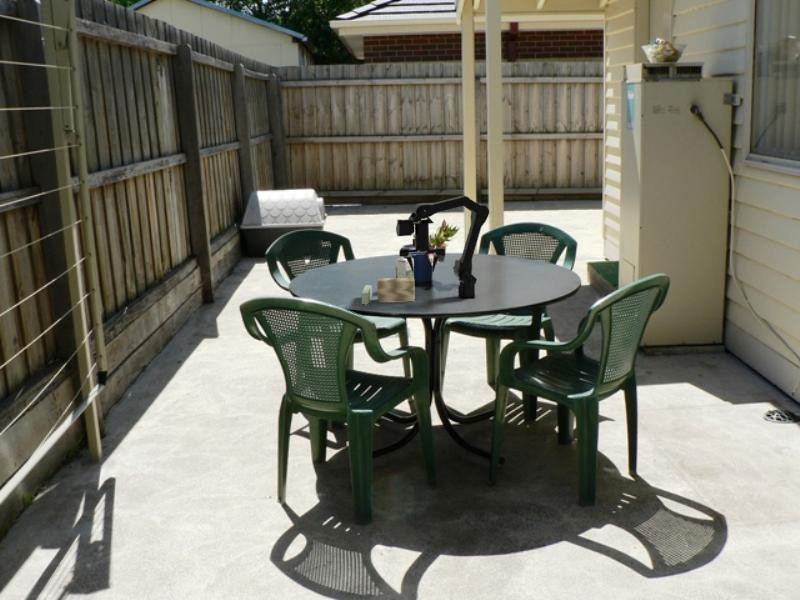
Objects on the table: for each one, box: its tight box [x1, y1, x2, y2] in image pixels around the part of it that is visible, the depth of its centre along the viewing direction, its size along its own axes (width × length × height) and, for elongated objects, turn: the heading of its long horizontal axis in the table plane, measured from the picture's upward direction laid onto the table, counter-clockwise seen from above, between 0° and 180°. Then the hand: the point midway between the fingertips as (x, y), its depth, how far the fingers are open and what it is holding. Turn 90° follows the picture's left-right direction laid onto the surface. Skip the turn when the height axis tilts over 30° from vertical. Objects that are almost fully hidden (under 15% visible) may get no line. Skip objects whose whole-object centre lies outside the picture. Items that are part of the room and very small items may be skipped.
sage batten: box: [361, 284, 373, 305], centre depth 362 cm, size 2×16×5 cm, turn 176°
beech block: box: [376, 277, 416, 302], centre depth 360 cm, size 15×6×9 cm, turn 86°
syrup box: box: [395, 256, 415, 279], centre depth 378 cm, size 6×6×14 cm
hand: (423, 272), depth 358 cm, fingers open, 8 cm apart
